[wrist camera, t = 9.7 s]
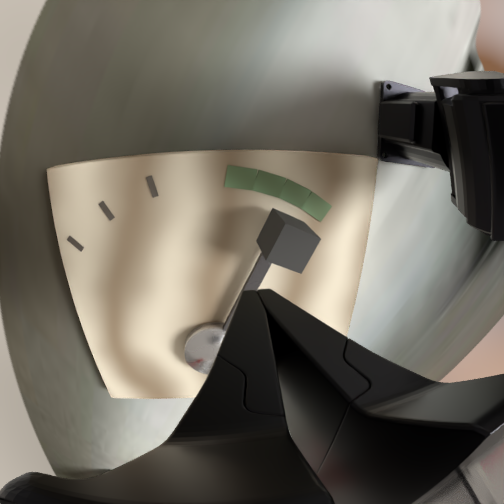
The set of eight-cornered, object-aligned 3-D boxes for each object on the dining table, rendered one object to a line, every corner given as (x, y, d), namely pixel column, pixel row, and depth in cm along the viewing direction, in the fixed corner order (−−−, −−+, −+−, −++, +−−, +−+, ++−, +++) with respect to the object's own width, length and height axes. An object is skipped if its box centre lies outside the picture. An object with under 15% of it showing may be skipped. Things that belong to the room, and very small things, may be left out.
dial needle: (231, 371, 25) (236, 404, 22) (176, 358, 24) (176, 392, 20) (315, 224, 21) (338, 246, 17) (252, 196, 19) (264, 214, 16)
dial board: (367, 155, 21) (378, 158, 19) (329, 369, 30) (334, 379, 29) (55, 165, 17) (46, 169, 16) (113, 386, 26) (111, 398, 25)
